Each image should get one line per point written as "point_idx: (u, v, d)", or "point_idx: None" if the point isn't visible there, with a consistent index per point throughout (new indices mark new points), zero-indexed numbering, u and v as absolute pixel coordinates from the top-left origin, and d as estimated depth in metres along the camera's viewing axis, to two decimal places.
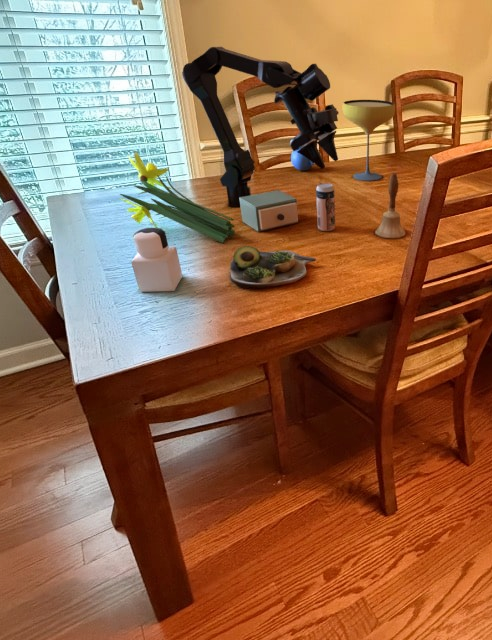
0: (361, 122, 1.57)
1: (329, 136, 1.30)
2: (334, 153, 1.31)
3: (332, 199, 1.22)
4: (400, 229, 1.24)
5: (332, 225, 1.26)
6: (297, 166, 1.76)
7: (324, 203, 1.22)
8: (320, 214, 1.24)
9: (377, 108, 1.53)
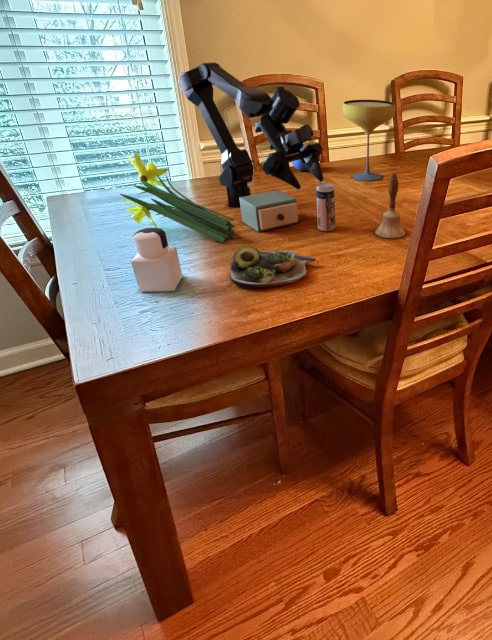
0: (361, 122, 1.57)
1: (312, 157, 1.26)
2: (319, 173, 1.27)
3: (332, 199, 1.22)
4: (400, 229, 1.24)
5: (332, 225, 1.26)
6: (297, 166, 1.76)
7: (324, 203, 1.22)
8: (320, 214, 1.24)
9: (377, 108, 1.53)
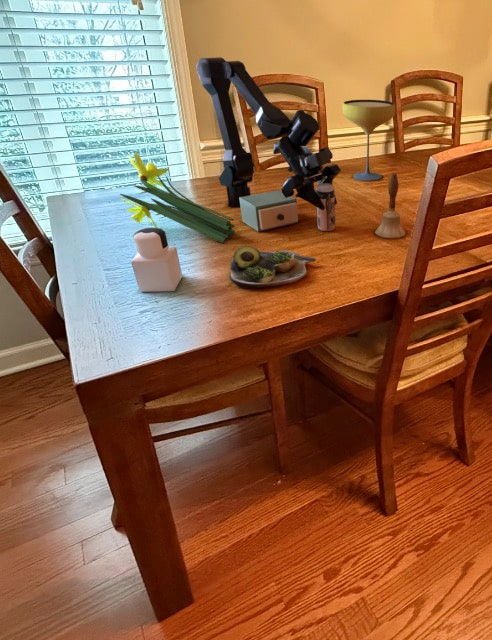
0: (361, 122, 1.57)
1: (326, 180, 1.25)
2: None
3: (332, 199, 1.22)
4: (400, 229, 1.24)
5: (332, 225, 1.26)
6: None
7: (324, 203, 1.22)
8: (320, 214, 1.24)
9: (377, 108, 1.53)
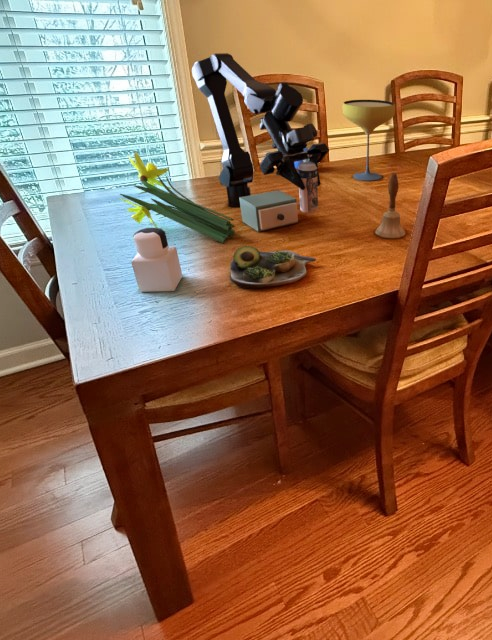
0: (361, 122, 1.57)
1: (310, 159, 1.19)
2: None
3: (314, 179, 1.16)
4: (400, 229, 1.24)
5: (314, 207, 1.20)
6: (297, 166, 1.76)
7: (304, 183, 1.16)
8: (301, 194, 1.18)
9: (377, 108, 1.53)
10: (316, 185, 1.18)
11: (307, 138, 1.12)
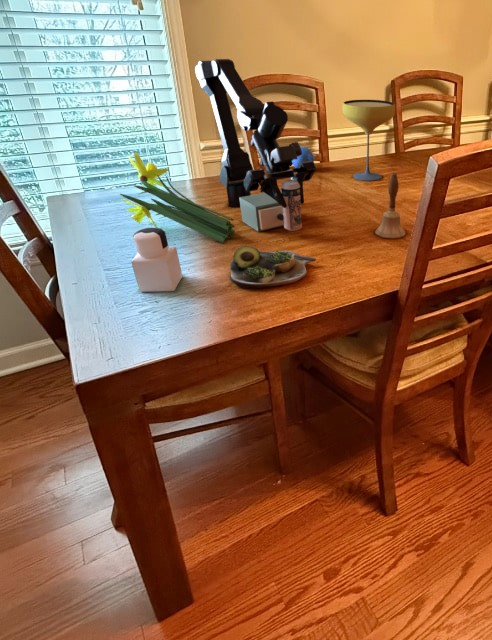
0: (361, 122, 1.57)
1: (296, 177, 1.18)
2: (300, 195, 1.19)
3: (296, 197, 1.16)
4: (400, 229, 1.24)
5: (296, 225, 1.20)
6: None
7: (286, 201, 1.16)
8: (284, 212, 1.18)
9: (377, 108, 1.53)
10: (299, 203, 1.18)
11: (289, 157, 1.12)
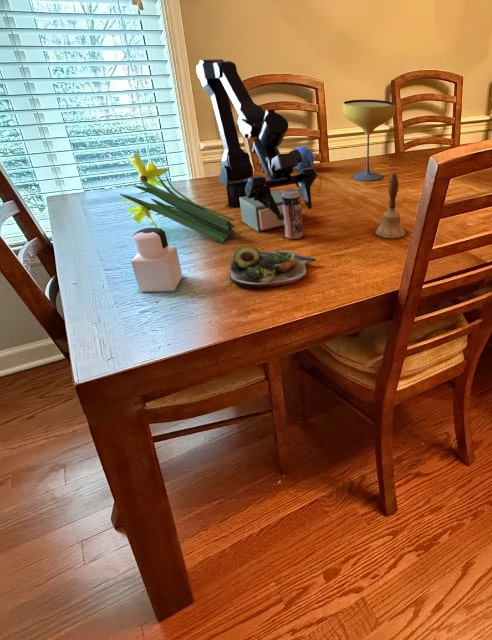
0: (361, 122, 1.57)
1: (303, 183, 1.20)
2: (307, 200, 1.20)
3: (296, 206, 1.17)
4: (400, 229, 1.24)
5: (297, 233, 1.21)
6: (297, 166, 1.76)
7: (287, 210, 1.17)
8: (285, 220, 1.20)
9: (377, 108, 1.53)
10: (299, 212, 1.19)
11: (290, 164, 1.12)
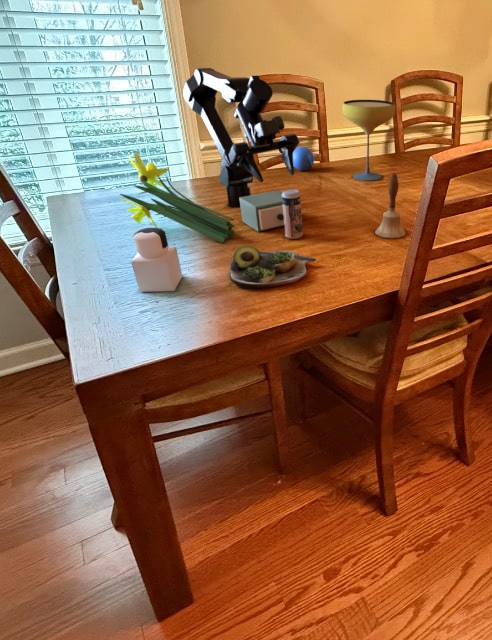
0: (361, 122, 1.57)
1: (286, 149, 1.24)
2: (290, 167, 1.25)
3: (296, 206, 1.17)
4: (400, 229, 1.24)
5: (297, 233, 1.21)
6: (297, 166, 1.76)
7: (287, 210, 1.17)
8: (285, 220, 1.20)
9: (377, 108, 1.53)
10: (299, 212, 1.19)
11: (272, 131, 1.16)
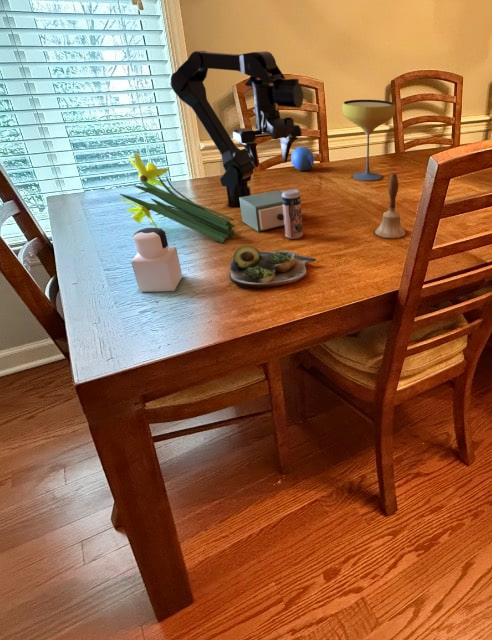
0: (361, 122, 1.57)
1: (287, 139, 1.33)
2: (285, 156, 1.36)
3: (296, 206, 1.17)
4: (400, 229, 1.24)
5: (297, 233, 1.21)
6: (297, 166, 1.76)
7: (287, 210, 1.17)
8: (285, 220, 1.20)
9: (377, 108, 1.53)
10: (299, 212, 1.19)
11: (281, 137, 1.25)
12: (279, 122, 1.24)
